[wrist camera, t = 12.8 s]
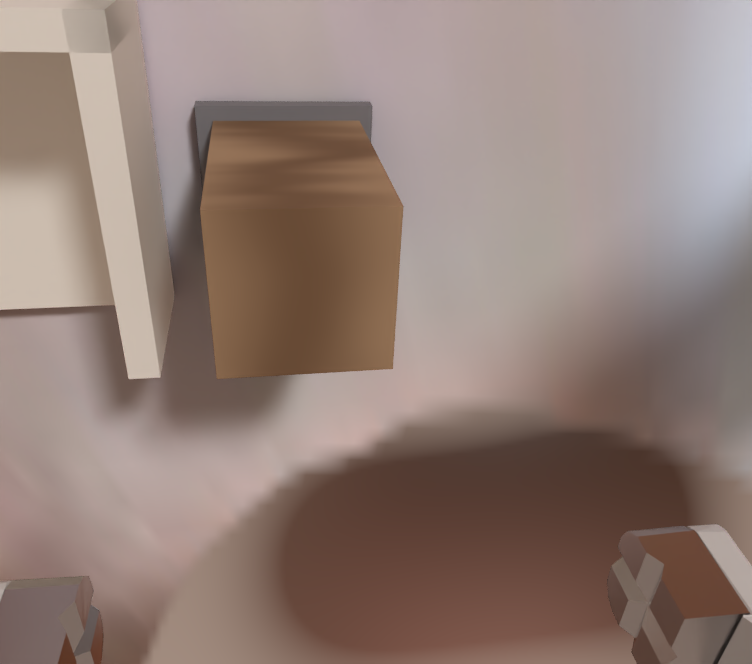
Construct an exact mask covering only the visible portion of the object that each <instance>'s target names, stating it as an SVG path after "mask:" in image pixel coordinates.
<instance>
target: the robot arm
mask: <svg viewBox="0 0 752 664" xmlns="http://www.w3.org/2000/svg"><path fill="white" fill-rule="evenodd" d="M618 549H619V551H620V553H621V554H622V557H621V558H620V559H619V560H618V561H616V562H615V563H614V564H613V565H612V566H611V569H610V572H609V576H608V579H607V584H608V598H609V601H610V605H611V608H612V612H613V614H614V616H615V618H616V620H617V622H618V625H619V626H620V627H621V628H623V629H624V630H625V631H626V632H628V633H629V634H630V635H632V636H633V637H634V642H633V648H632V654H633V656H634V658H635V660H636V662H637V664H752V566H751V564H750V563H749V562H748V560H747V559H746V557H745V556H744V554H743V553H742V552H741V550H740V549H739V548H738V546H737V545H736V543H735V542H734V541H733V539H732V538H731V536H730V535H729V534H728V532H727V531H726V530H725V529H724V528H723V527H721V526H720V525H718V524H709V525H698V526H687V527H684V526H678V527H667V528H656V529H646V530H635V531H627V532H626V533H625V534H624V535H623V536H622V537H621V539H620V542H619V545H618ZM93 592H94V590H93V587H92V584H91V581H90V578H89V576H79V577H60V578H42V579H24V580H7V581H0V664H101V660H102V651H103V625H102V619H101V615H100V611H99V610H98V609H96V608H95V607H93V606H92V605H91V601H92V597H93Z"/></svg>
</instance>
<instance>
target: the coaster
mask: <svg viewBox="0 0 752 664" xmlns="http://www.w3.org/2000/svg"><path fill="white" fill-rule="evenodd" d="M194 107H195V118H196V128H197V138H198V149H199V159H200V170H201V180H202V191H203V186H204V179H205V172H206V165H207V158H208V151H209V145H210V138H211V131H212V124H213V121H360V123H361V125H362V127H363V128H364V130H365V132H366V134H367V136H368V138H369V140H370V142H371V128H372V105H371V103H370V102H251V101H195V105H194Z"/></svg>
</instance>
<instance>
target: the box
mask: <svg viewBox="0 0 752 664" xmlns="http://www.w3.org/2000/svg"><path fill="white" fill-rule="evenodd" d="M174 298H175V294H174V286H173V278H172V271H171V263H170V255H169V247H168V239H167V232H166V224H165V216H164V208H163V201H162V193H161V185H160V177H159V170H158V162H157V154H156V146H155V139H154V131H153V123H152V115H151V107H150V100H149V92H148V84H147V76H146V69H145V61H144V53H143V45H142V38H141V30H140V22H139V14H138V6H137V0H0V310H6V309H30V308H54V307H78V306H103V305H115V307H116V313H117V318H118V324H119V329H120V335H121V340H122V345H123V351H124V356H125V362H126V367H127V373H128V378H129V379H142V378H160V377H161V372H162V366H163V360H164V355H165V349H166V343H167V338H168V332H169V326H170V321H171V315H172V309H173V304H174Z"/></svg>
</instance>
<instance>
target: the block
mask: <svg viewBox="0 0 752 664" xmlns="http://www.w3.org/2000/svg"><path fill="white" fill-rule="evenodd" d="M200 216H201V226H202V236H203V246H204V256H205V266H206V276H207V286H208V296H209V306H210V316H211V327H212V337H213V347H214V357H215V367H216V377H217V379H227V378H244V377H261V376H278V375H295V374H312V373H329V372H346V371H363V370H380V369H393V356H394V341H395V326H396V310H397V295H398V280H399V264H400V249H401V234H402V218H403V205H402V203H401V201H400V199H399V197H398V195H397V193H396V191H395V189H394V187H393V185H392V183H391V181H390V179H389V177H388V175H387V173H386V171H385V169H384V167H383V166H382V164H381V162H380V160H379V158H378V156H377V154H376V152H375V150H374V148H373V146H372V144H371V142H370V140H369V138H368V136H367V134H366V132H365V130H364V128H363V127H362V125H361V123H360V121H213V124H212V131H211V138H210V145H209V151H208V158H207V165H206V172H205V179H204V186H203V193H202V200H201V207H200Z"/></svg>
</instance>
